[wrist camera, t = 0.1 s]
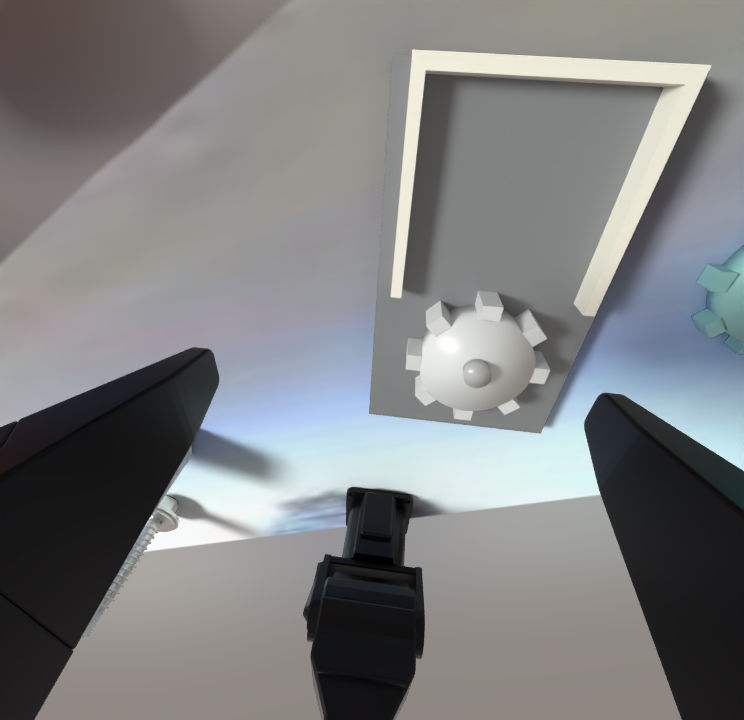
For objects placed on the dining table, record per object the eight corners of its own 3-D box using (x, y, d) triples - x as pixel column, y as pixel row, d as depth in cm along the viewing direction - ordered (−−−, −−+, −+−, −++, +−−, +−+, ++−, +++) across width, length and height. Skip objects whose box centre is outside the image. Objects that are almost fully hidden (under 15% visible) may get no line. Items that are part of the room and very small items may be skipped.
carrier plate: (536, 422, 28) (551, 463, 24) (370, 403, 28) (364, 440, 25) (691, 73, 15) (764, 62, 12) (393, 57, 16) (387, 43, 13)
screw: (178, 518, 42) (140, 499, 41) (194, 502, 40) (154, 482, 38) (97, 653, 32) (41, 635, 30) (112, 643, 29) (52, 622, 28)
